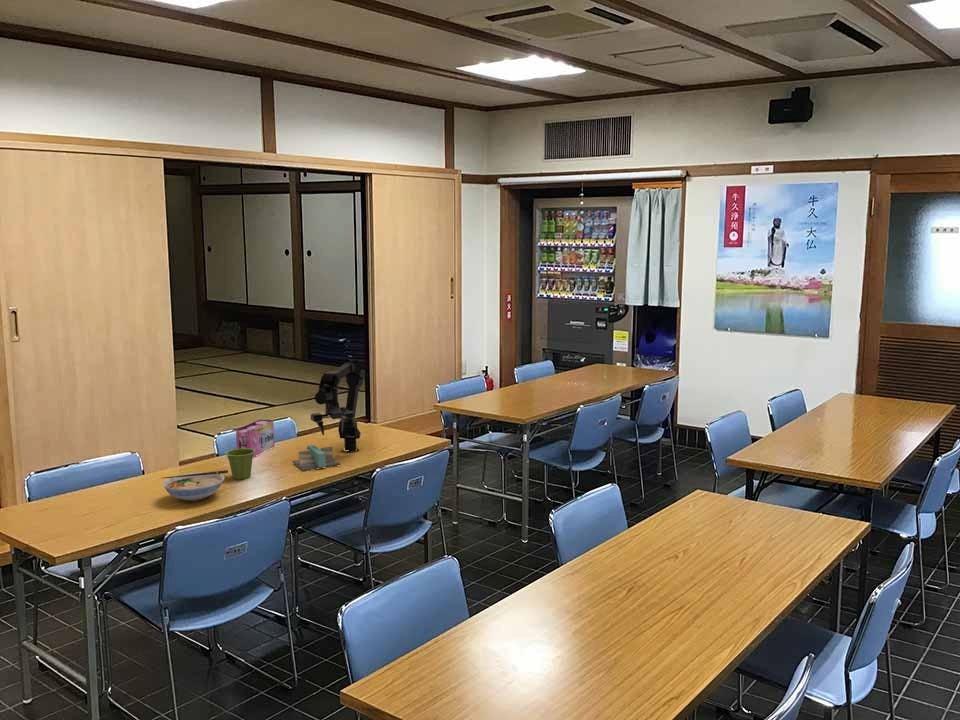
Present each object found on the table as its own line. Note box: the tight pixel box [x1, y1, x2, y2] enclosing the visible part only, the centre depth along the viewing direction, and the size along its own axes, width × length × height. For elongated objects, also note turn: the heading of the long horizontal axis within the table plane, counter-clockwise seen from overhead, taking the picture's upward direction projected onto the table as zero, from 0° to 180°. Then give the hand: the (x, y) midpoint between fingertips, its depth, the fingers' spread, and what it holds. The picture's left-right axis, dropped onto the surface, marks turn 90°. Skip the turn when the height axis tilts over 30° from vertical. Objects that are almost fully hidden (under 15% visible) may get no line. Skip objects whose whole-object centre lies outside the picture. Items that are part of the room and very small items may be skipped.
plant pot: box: [225, 448, 255, 481], centre depth 340 cm, size 12×12×11 cm
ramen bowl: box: [160, 469, 229, 502], centre depth 312 cm, size 25×23×8 cm
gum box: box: [235, 419, 276, 458], centre depth 381 cm, size 24×8×14 cm, turn 166°
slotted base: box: [292, 446, 341, 472], centre depth 359 cm, size 16×17×7 cm
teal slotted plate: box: [306, 444, 326, 468], centre depth 359 cm, size 18×3×6 cm, turn 28°
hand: (333, 433), depth 366 cm, fingers open, 9 cm apart
